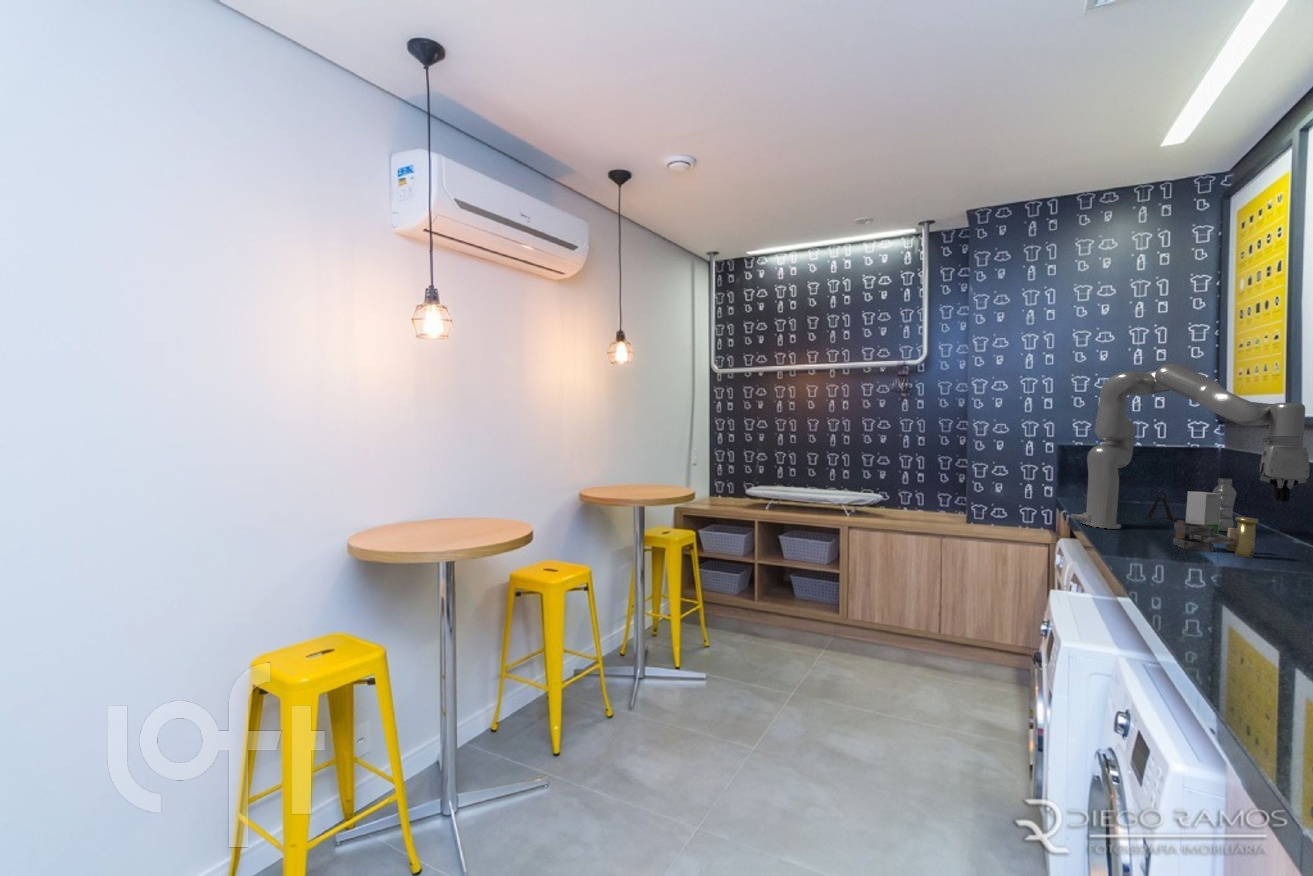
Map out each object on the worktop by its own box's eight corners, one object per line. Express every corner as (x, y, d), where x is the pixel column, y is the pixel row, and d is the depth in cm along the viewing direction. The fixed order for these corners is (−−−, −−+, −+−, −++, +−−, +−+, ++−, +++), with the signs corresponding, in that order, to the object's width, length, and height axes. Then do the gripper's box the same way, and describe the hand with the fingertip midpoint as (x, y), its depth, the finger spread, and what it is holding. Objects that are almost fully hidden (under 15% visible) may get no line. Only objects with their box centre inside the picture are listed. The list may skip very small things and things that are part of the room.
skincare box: (1203, 536, 214) (1206, 493, 213) (1182, 532, 221) (1185, 491, 220) (1219, 535, 216) (1223, 493, 216) (1198, 532, 223) (1202, 490, 222)
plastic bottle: (1208, 528, 231) (1212, 477, 230) (1232, 531, 226) (1236, 478, 225) (1209, 530, 226) (1213, 478, 225) (1234, 533, 221) (1238, 480, 220)
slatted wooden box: (1183, 549, 192) (1185, 526, 192) (1164, 540, 205) (1165, 519, 205) (1212, 551, 190) (1214, 528, 189) (1191, 542, 203) (1193, 521, 202)
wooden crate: (1203, 550, 191) (1204, 527, 190) (1191, 545, 198) (1193, 523, 197) (1258, 554, 186) (1260, 532, 186) (1244, 549, 193) (1246, 527, 193)
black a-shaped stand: (1174, 520, 247) (1176, 491, 246) (1173, 522, 243) (1176, 493, 242) (1146, 517, 253) (1148, 489, 253) (1145, 518, 249) (1147, 490, 248)
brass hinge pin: (1238, 557, 183) (1241, 518, 182) (1229, 553, 188) (1232, 516, 187) (1259, 559, 181) (1262, 520, 181) (1249, 555, 186) (1252, 517, 185)
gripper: (1261, 442, 184) (1258, 500, 185) (1325, 443, 179) (1321, 504, 180) (1247, 441, 191) (1244, 497, 192) (1308, 442, 186) (1304, 500, 187)
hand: (1281, 500), depth 186 cm, fingers closed
